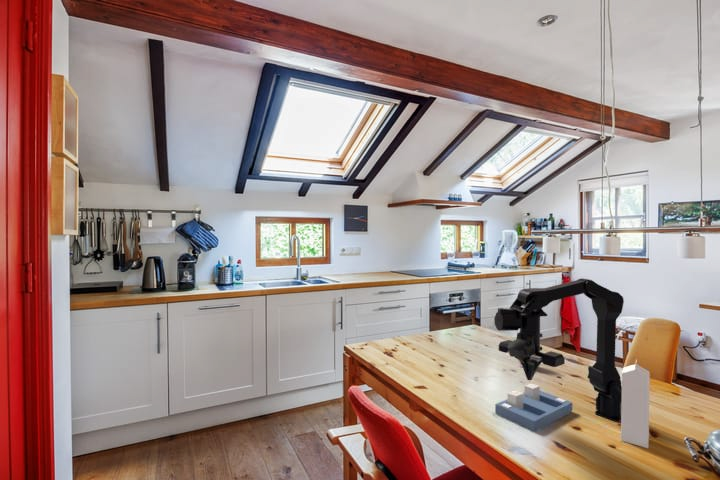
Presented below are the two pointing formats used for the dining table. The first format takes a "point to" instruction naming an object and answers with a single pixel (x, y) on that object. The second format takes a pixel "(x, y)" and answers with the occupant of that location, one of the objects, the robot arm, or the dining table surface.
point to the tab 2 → (532, 391)
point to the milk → (635, 405)
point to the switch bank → (535, 411)
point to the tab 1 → (515, 399)
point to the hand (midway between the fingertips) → (529, 380)
